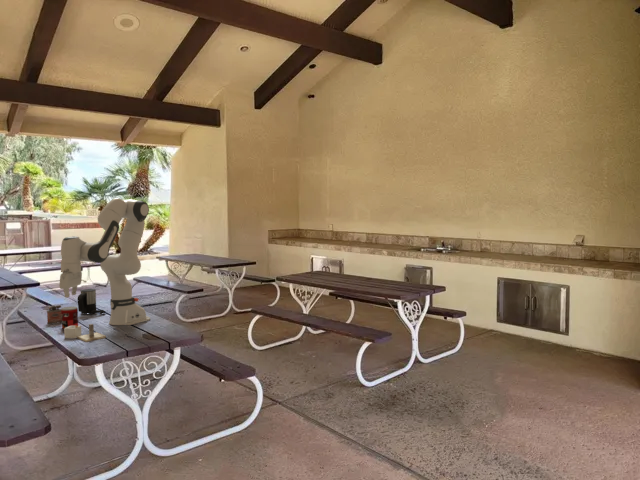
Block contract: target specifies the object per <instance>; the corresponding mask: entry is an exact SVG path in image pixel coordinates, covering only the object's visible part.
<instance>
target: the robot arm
mask: <svg viewBox="0 0 640 480" xmlns="http://www.w3.org/2000/svg"><path fill="white" fill-rule="evenodd" d="M149 212H150V208H149V205H148V203H147V202H145V201H143V200H140V199H139V200H137V199H136V200H135V199H122V198H120V197H119V198H118V197H113V199H111V200H110V201H108V203H106V204H105V206H104V207H103V208H102V210H101V211H100V213H99V214H98V215H97V216H98V217H97V223H98V225H99V226H100V227H101V228H102V229H103V230H105V231H104V232H103V234H102V236H101V237H100V240H99V241H98V242H94V243H93V242H86V241H84V240H83V239H81V238H80V237H79V236H78V235H77V236H73V235H72V236H65V237H64V238H62V241H61V246H60V256H61V260H60V273H61V274H60V275H59V285H58V286H59V289H60V290H63V292H64V294H63V295H64V298H69V297H70V295H72V296H76V294H77V291H78V286H80V285H81V284H82V278H83V277H82V275H83V270H84V267H83V265H81V263H82V262H89V263H90V262H91V263H97V264H99V265H100V268H101V270H102V271H103V273H105V275H106V277H107V279H108V283H109V286H110V297H111V298H110V317H109V320H108V321H109V322H108V325H112V326H131V325H136V324H139V323H143V322H147V321H150V320H151V317H150V316H148V315H147V313H146V310H145V308H143V307H142V306H140V305H139V304H137V303H136V302H139V301H140V299H139V298H138V297H133V291H132V290H133V288H132V286H133V285H132V283H131V282H130V281H129V280H128V278H127V276H131V275H135V274H137V273H139V271H140V270H141V267H142V263H141V260H140V259H139V256H138V249H139V245H140V242H141V240H142V237H143V234H144V230H145V224H146V223H145V220H146V219H147V217H148V214H149ZM123 219H125V220H126V223H125V224H124V226H123V229H122V231H121V234H120V237H119V239H118V243H117V244H118V247H119V248H120V254H110V255H109V253H110V250H111V247H112V245H113V243H114V242H115V239H116V237H117V235H118V233H119V230H120V223H121V221H122V220H123ZM70 289H71V294H70Z"/></svg>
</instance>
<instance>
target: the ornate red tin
mask: <svg viewBox="0 0 640 480" xmlns="http://www.w3.org/2000/svg"><path fill="white" fill-rule="evenodd" d="M61 309H62V305H61V304H60V305H59V304H58V305H52V306H49V307H48V310H46V314H47V316H46V319H47V322H46V323H47V325H53V324H52V323H55V324H60V323H61V324H62V316H61Z"/></svg>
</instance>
